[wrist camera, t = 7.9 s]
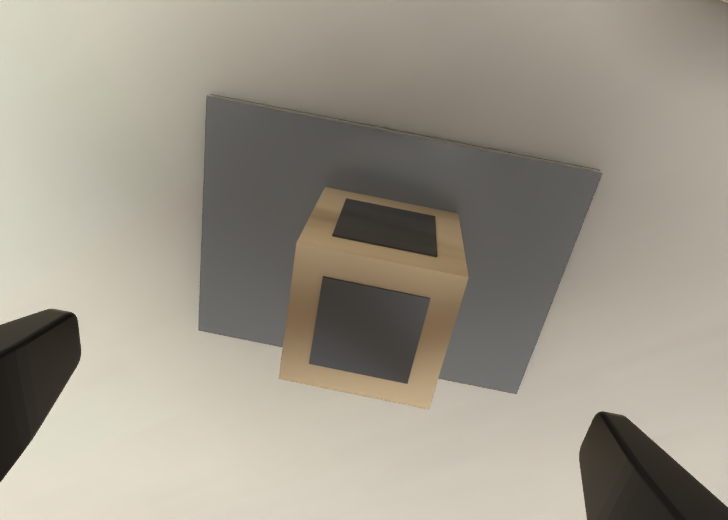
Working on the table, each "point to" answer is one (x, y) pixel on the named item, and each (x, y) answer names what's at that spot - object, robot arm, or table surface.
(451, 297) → the tan cube block
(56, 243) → the table surface
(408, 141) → the slate pad
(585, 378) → the table surface
